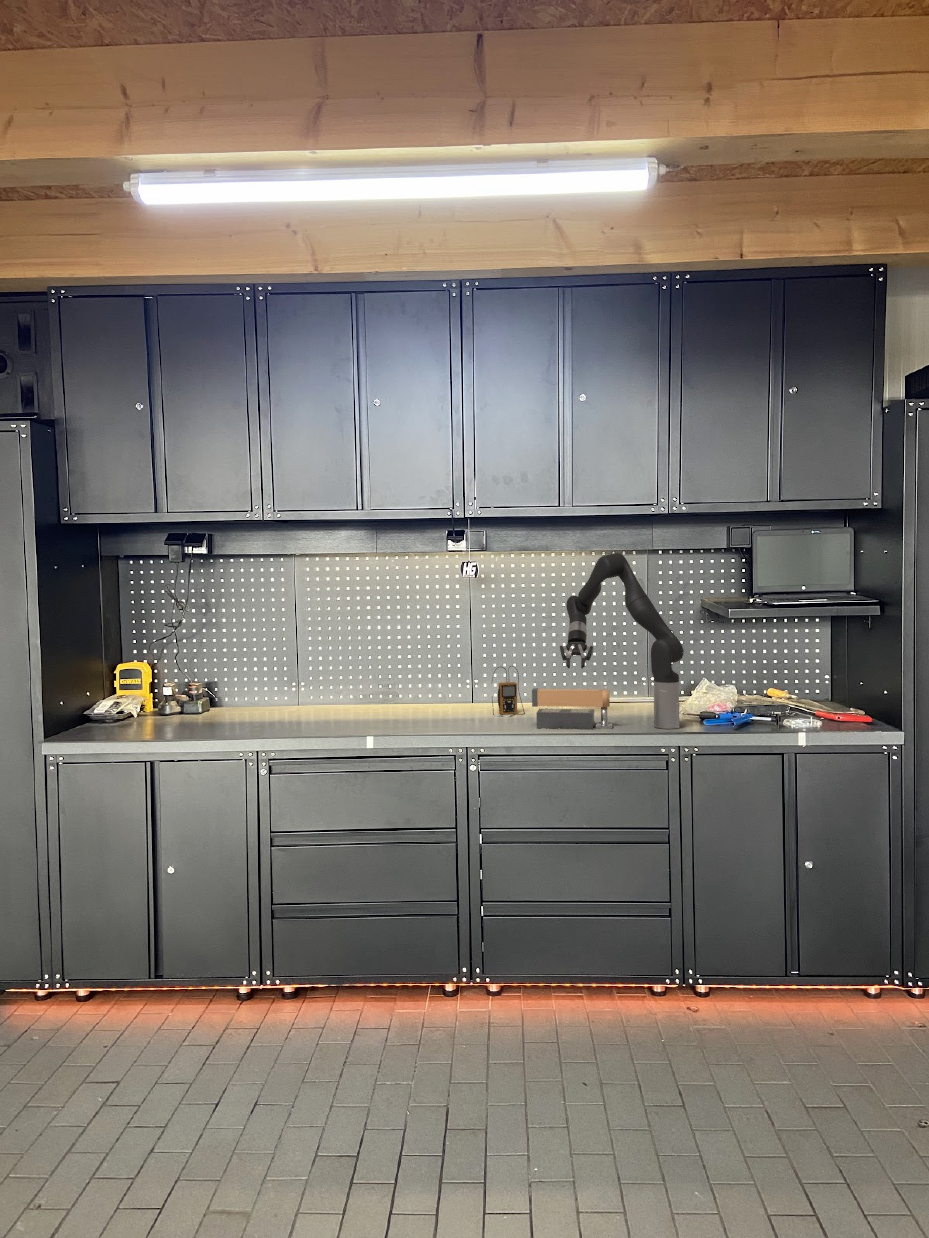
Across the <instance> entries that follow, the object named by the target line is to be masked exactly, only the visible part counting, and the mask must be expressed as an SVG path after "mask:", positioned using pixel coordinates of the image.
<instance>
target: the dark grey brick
mask: <svg viewBox="0 0 929 1238" xmlns="http://www.w3.org/2000/svg"><path fill="white" fill-rule="evenodd" d="M593 727H595V709H591V708H589V709H588V708H583V709H582V708H580V709H579V708H539V709H538V710H537V711H536V729H542V728H546V729H548V728H549V730H550V729H552V730H594V728H593ZM556 728H557V729H556ZM558 728H560V729H558ZM542 730H543V729H542Z"/></svg>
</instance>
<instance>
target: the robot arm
mask: <svg viewBox="0 0 929 1238" xmlns="http://www.w3.org/2000/svg"><path fill="white" fill-rule="evenodd" d="M632 569H633V568H631V566H630V564H629V561H628V560H627V558H626V557H625V556H624V555H623V554H622V553H621V552H615V553H610V554H609V553H608V554H605V555H602V556H600V557H599V558H598V560H596V563H595V564H594V567H593V569H592V571H591V573H590V576H589V578H588V580H587V581H586V582H585V584H584V585H583V587H582V588H581V589H580V590H579V592H578V594H577V595H570V596H569V597H568V598H567V600H566V605H565V606H566V607H565V608H566V611H567V614H568V618H569V623H568V624H569V625H568V629H567V630H568V631H567V632H568V633H567V644H566V645H565V646H563V645H559V651H560V656H561V659H562V660H563V661H565V662H566V663H565V664H566V668H567V669H570V668H571V659H573V656H579V657H580V660H581V661H580V668H581V669H582V670H583V669H584V668H585V667H586V661H588V662H589V661H590V660H591V658H592V655H593V652H594V646H593V645H590V646H588V645H587V635H588V634H587V631H588V630H587V623H588V622H587V620H588V619H587V615H589V614H590V612H591V611H592V605H593V603H594V601H595V600H596V599H597V597H598V596H599V595H600V593H601V591H602V583H603V582H604V581H605V580H607V579H612V578H616V577H618V578H619V579H620V580H621V582H622V584H623V585H624V588H625V589H624V590H625V591H624V605H625V608H626V609H627V611H628V613H629V614H630V616H631V617H632V620H634V621H635V622H636V623H637V624H638V625H639V626H641V628H643V629H645V630H646V631H647V632H648V633H649V634H651V635H652V636H653V637H654V639H655V641H654V642H653V643H652V645H651V647H650V663H651V665H650V667H651V669H650V670H651V674H652V676H653V727H654V728H656V729H664V730H665V729H666V730H667V729H669V730H670V729H671V730H673V729H680V675H679V673H677V672H675V671H674V670H673V666H672V664H673V663H677V662H680V661H681V660H682V659H683V657H684V647H683V644H682V642H681V641H680V640H679V639H678V637H677V636H676V634H674V632H673V631H672V630H671V629H670V627H669V626H668V625H667V623H666V622H665V620H664V618H663V617H662V616H661V615H660V614H659V611H657V609H656V607H655V606H654V604H653V602H652V601H651V599H650V598H649V596H648V594H646V592H645V590H644V589H643V587H642V585H641V584H640V582H639V581H638V579H637V577H636V575H635V574H634V571H633V570H632ZM566 651H567V652H568V653H567V655H566V654H565V652H566ZM586 651H587V653H586V655H585V652H586Z"/></svg>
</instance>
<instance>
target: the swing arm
mask: <svg viewBox="0 0 929 1238" xmlns="http://www.w3.org/2000/svg"><path fill="white" fill-rule="evenodd" d="M610 698H611V697H610V690H609V689H578V688H577V689H574V688H573V689H571V688H569V689H567V688H566V689H564V688H563V689H562V688H561V689H560V688H557V689H556V688H555V689H554V688H551V689H550V688H538V687H537V688H532V690H531V707H535V708H536V707H537V708H538V707H563V708H564V707H565V708H566V707H573V708H576V707H577V708H583V707H584V708H601V707H607V708H609V707H610V706H611V705H610V701H611V700H610Z"/></svg>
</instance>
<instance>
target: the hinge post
mask: <svg viewBox="0 0 929 1238" xmlns="http://www.w3.org/2000/svg"><path fill="white" fill-rule="evenodd" d="M612 726H613V727H614V725H613V723H608V707H600V722H596V724H595V729H596V728H606V729H607V730H612V729H613V727H612Z"/></svg>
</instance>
